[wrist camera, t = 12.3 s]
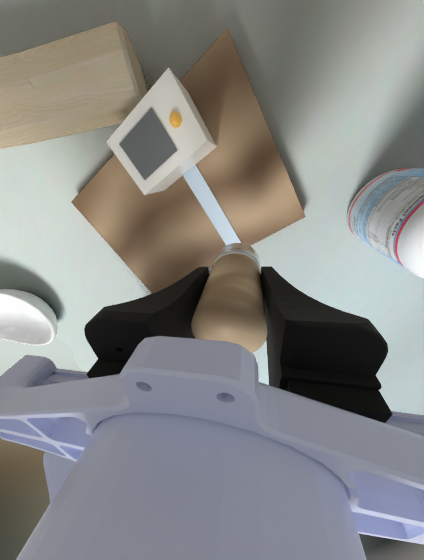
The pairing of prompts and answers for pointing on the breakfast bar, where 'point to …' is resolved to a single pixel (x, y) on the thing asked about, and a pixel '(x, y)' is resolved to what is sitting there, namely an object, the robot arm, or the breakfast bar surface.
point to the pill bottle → (392, 217)
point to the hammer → (69, 86)
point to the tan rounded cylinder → (233, 300)
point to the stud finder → (161, 136)
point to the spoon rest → (26, 318)
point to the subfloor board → (199, 184)
